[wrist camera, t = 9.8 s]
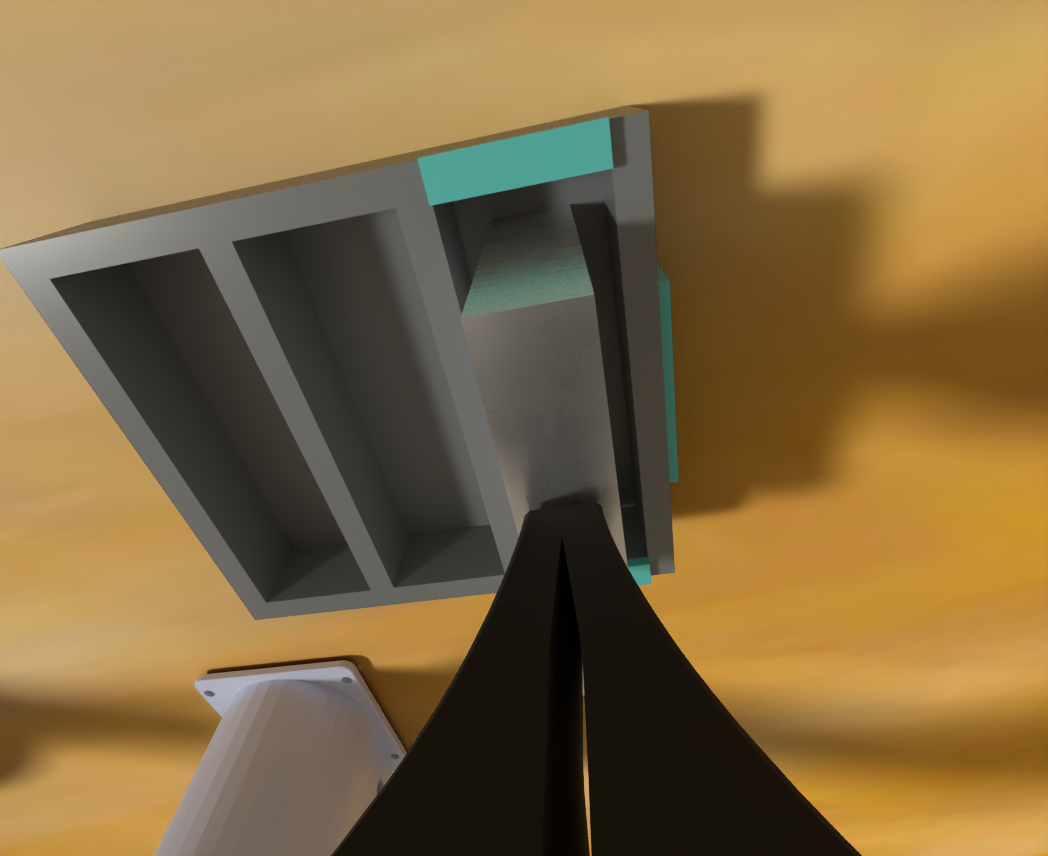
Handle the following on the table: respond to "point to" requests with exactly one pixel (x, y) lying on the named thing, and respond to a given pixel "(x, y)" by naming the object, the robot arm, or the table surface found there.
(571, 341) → the long gray block
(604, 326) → the rack
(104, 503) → the table surface
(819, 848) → the robot arm
